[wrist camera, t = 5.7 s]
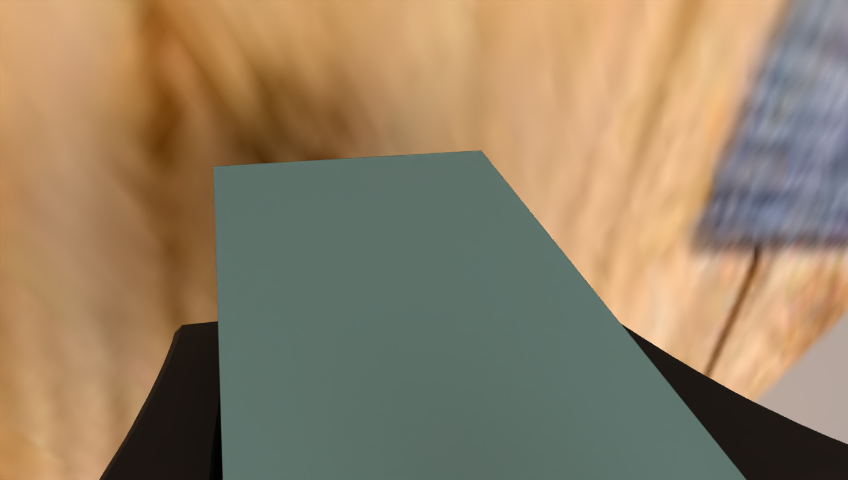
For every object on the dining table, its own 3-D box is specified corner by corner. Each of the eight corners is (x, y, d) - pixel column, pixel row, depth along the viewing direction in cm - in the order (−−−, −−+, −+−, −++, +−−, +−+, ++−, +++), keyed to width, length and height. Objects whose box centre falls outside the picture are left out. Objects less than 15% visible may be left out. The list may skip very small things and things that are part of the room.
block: (462, 354, 15) (720, 901, 8) (236, 383, 14) (275, 1058, 6) (481, 150, 13) (877, 643, 5) (213, 166, 12) (232, 817, 4)
